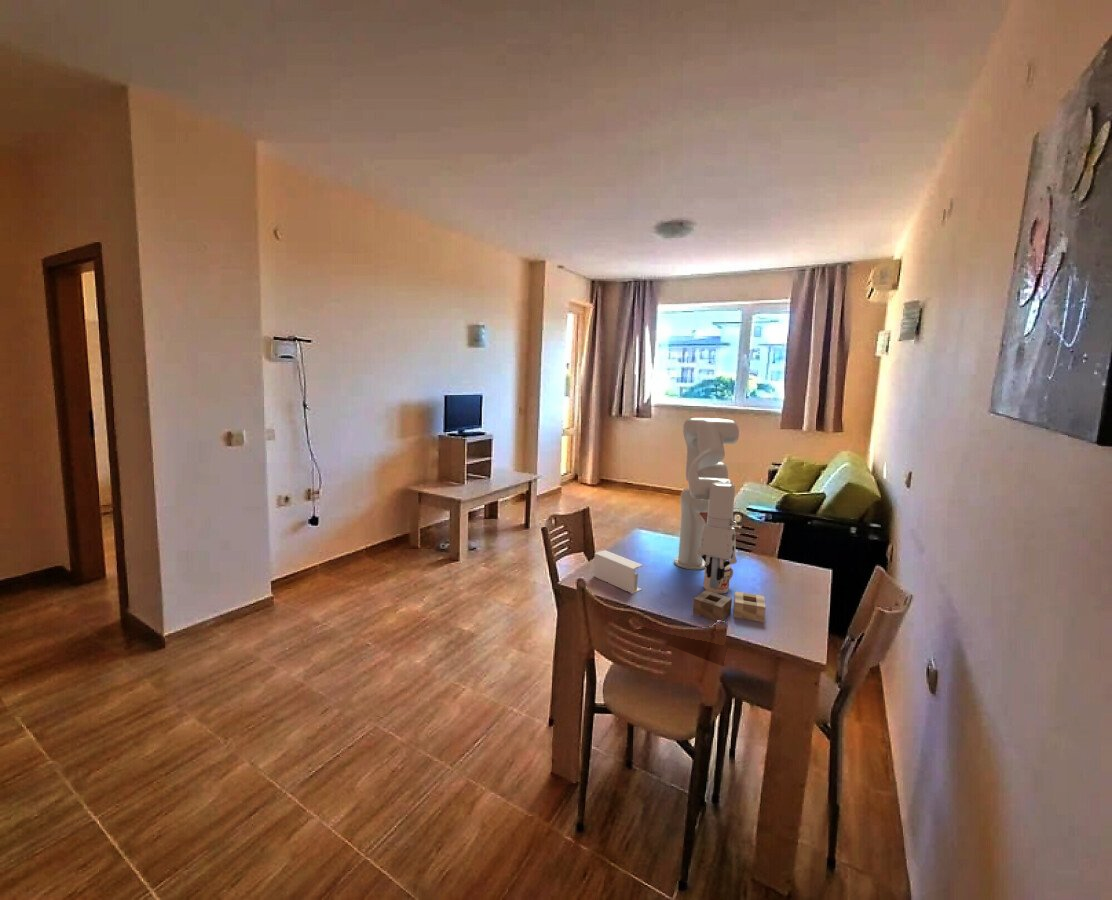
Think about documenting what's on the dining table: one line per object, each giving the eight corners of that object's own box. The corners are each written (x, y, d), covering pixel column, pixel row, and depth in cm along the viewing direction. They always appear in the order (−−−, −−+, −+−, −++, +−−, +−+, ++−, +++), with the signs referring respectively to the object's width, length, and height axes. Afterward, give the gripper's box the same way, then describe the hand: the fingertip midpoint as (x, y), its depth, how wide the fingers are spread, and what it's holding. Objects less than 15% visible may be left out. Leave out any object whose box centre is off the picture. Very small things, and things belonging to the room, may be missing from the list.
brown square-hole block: (704, 604, 172) (705, 590, 171) (730, 612, 166) (732, 598, 165) (692, 613, 165) (693, 598, 164) (720, 622, 159) (721, 607, 158)
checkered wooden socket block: (733, 605, 172) (735, 591, 171) (762, 610, 169) (764, 595, 168) (733, 617, 163) (735, 602, 162) (764, 622, 160) (765, 607, 160)
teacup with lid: (715, 596, 179) (718, 564, 177) (697, 586, 187) (699, 555, 185) (740, 590, 184) (743, 559, 182) (722, 581, 192) (724, 551, 190)
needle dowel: (711, 584, 166) (714, 548, 164) (719, 586, 164) (722, 550, 162) (708, 586, 164) (711, 550, 162) (716, 589, 162) (719, 552, 160)
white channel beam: (642, 590, 181) (643, 565, 180) (631, 594, 178) (633, 568, 176) (601, 572, 196) (602, 549, 195) (591, 576, 193) (592, 552, 191)
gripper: (749, 524, 159) (744, 581, 161) (699, 514, 169) (695, 568, 171) (740, 530, 153) (735, 588, 156) (690, 519, 163) (686, 574, 166)
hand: (714, 577), depth 164 cm, fingers closed on needle dowel, 2 cm apart
